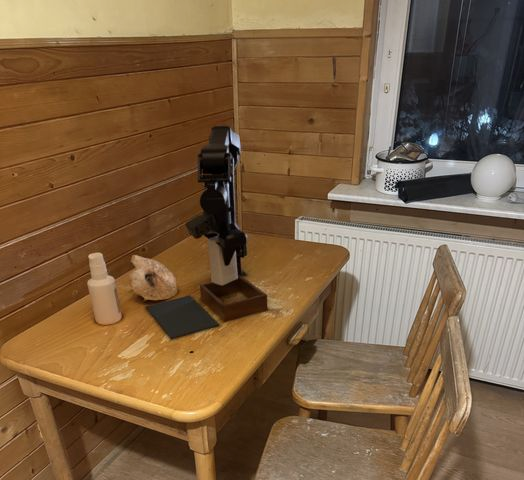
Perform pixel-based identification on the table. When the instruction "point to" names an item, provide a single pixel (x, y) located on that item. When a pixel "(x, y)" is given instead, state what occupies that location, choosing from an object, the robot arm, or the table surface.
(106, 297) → the spray bottle
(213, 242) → the cosmetic box
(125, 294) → the table surface
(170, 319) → the mat
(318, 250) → the table surface
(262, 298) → the crate
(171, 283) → the beige seashell
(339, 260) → the table surface
